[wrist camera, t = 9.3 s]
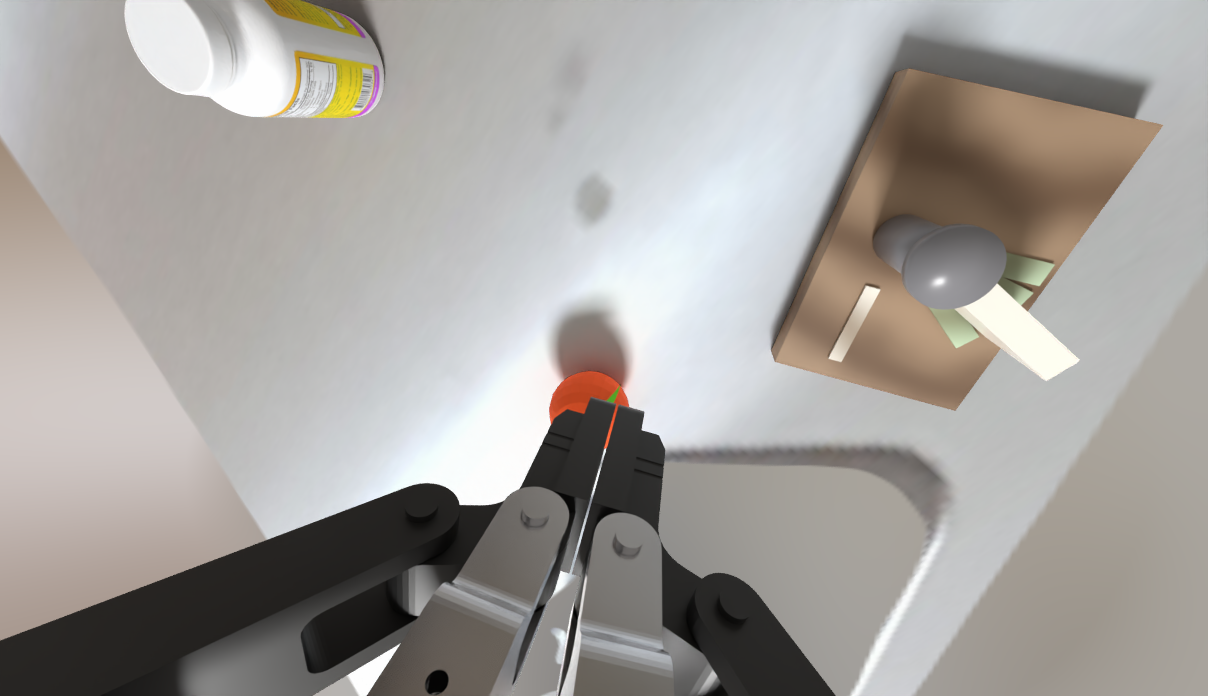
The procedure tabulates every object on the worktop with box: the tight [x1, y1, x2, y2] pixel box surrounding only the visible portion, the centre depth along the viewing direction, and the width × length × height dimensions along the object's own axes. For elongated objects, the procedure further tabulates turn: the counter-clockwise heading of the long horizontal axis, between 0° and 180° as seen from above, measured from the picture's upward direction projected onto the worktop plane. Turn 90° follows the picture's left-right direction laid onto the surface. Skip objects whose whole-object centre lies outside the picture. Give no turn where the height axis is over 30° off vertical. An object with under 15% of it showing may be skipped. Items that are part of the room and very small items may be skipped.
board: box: [771, 68, 1163, 411], centre depth 31 cm, size 20×14×2 cm
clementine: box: [549, 371, 629, 449], centre depth 38 cm, size 8×7×7 cm
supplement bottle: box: [125, 0, 384, 118], centre depth 27 cm, size 7×7×13 cm
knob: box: [873, 214, 1080, 381], centre depth 27 cm, size 12×4×7 cm, turn 54°
